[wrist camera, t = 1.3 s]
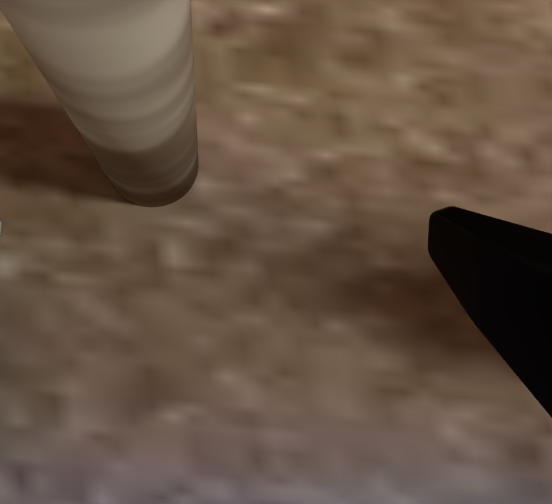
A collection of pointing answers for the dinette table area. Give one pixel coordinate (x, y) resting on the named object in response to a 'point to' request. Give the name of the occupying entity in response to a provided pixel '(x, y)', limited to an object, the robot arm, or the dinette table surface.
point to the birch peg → (121, 85)
